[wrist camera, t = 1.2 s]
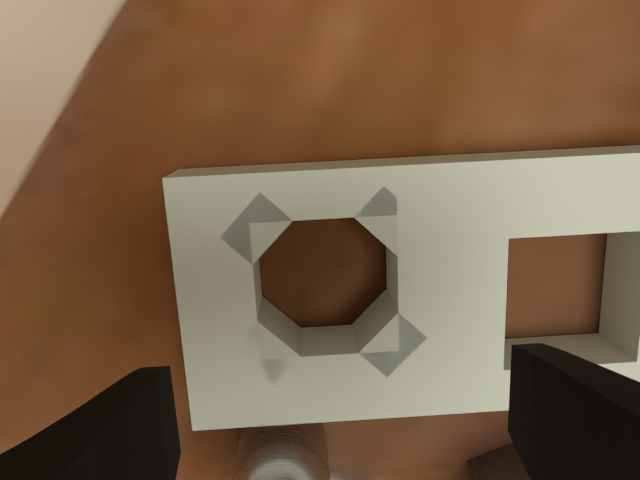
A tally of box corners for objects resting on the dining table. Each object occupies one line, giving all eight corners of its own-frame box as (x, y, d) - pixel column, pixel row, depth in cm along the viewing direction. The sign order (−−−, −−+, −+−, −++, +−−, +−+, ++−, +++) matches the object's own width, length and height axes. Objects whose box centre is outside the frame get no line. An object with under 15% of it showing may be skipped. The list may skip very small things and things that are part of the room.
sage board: (646, 366, 22) (689, 398, 19) (204, 394, 21) (192, 430, 19) (670, 143, 20) (723, 148, 17) (179, 169, 19) (161, 178, 17)
